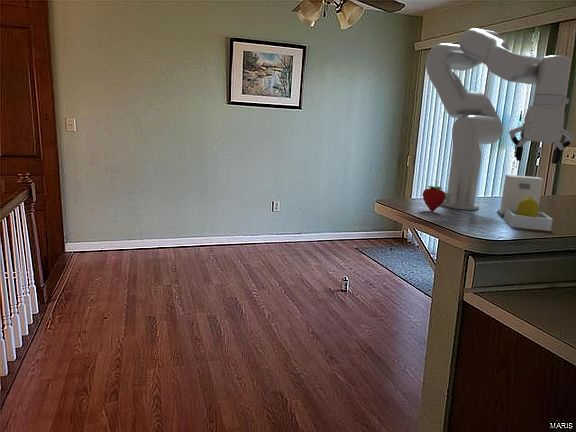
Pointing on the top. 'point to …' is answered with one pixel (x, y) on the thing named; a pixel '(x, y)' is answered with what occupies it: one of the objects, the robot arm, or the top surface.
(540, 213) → the tray
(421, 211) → the top surface
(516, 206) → the block
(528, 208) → the lemon
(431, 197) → the strawberry
